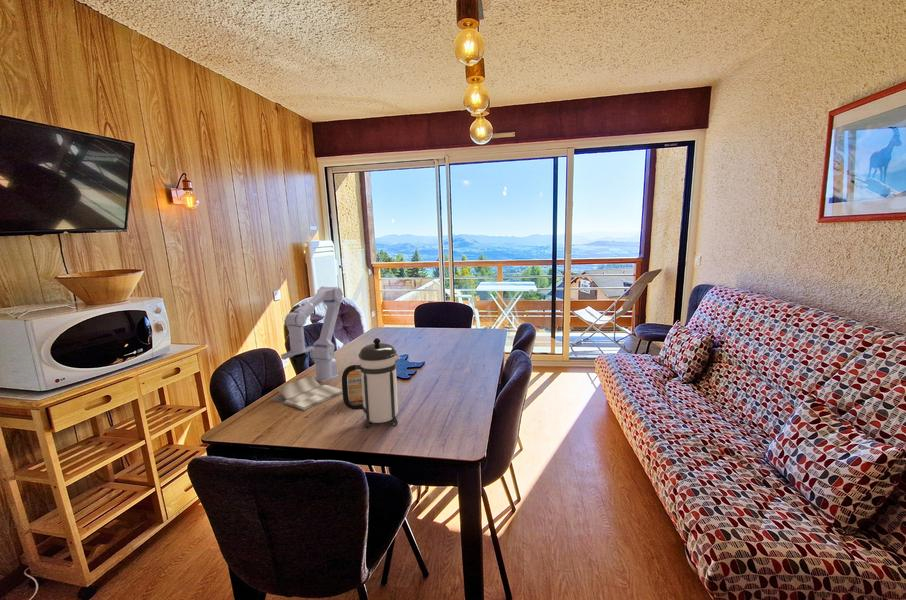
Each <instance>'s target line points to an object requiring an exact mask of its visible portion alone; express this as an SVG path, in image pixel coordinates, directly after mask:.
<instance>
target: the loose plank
mask: <svg viewBox="0 0 906 600" xmlns="http://www.w3.org/2000/svg"><path fill="white" fill-rule="evenodd" d="M314 378H315V377H313V376H312V375H308V376H306V377H304V378H300V379H297V380H294V381H292V382H290V383H287V384H284V385H281V386H278V387H277V390H276V391H277V392H278V393H279V395H282V396H283V398H284V399H285V400H288V399H290V398H293V397H295V396H298V395H300V394H303V393H305V392H308V391H310V390H313V389H315V388H318V387H320V383H319V381H317V380H315V379H314Z"/></svg>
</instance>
